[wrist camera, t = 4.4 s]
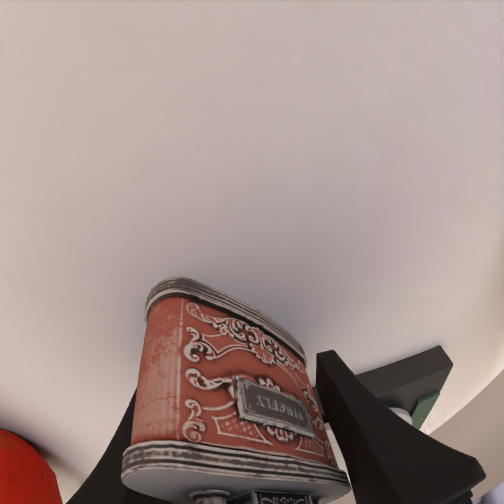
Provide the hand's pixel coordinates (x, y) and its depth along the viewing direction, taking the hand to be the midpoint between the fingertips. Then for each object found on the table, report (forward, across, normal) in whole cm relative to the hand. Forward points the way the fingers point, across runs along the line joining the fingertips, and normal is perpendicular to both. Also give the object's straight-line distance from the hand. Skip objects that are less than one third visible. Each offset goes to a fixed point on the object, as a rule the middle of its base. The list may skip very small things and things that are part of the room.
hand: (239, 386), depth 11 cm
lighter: (+3, 0, 0) cm, 3 cm away
